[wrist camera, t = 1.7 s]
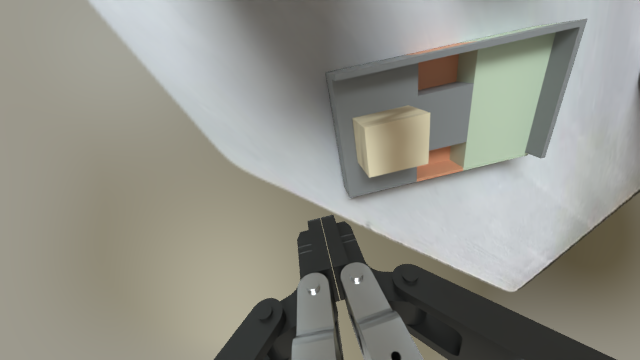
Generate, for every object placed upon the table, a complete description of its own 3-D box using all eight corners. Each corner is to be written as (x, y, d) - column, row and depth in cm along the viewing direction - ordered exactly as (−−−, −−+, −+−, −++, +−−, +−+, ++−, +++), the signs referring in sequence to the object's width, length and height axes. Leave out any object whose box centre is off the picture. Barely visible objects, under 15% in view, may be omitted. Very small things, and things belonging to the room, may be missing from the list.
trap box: (532, 26, 25) (587, 18, 20) (507, 147, 31) (543, 161, 27) (325, 72, 24) (335, 74, 19) (344, 186, 30) (354, 207, 26)
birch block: (408, 105, 24) (430, 112, 20) (408, 149, 26) (428, 163, 22) (352, 118, 23) (364, 128, 20) (357, 161, 26) (369, 177, 22)
